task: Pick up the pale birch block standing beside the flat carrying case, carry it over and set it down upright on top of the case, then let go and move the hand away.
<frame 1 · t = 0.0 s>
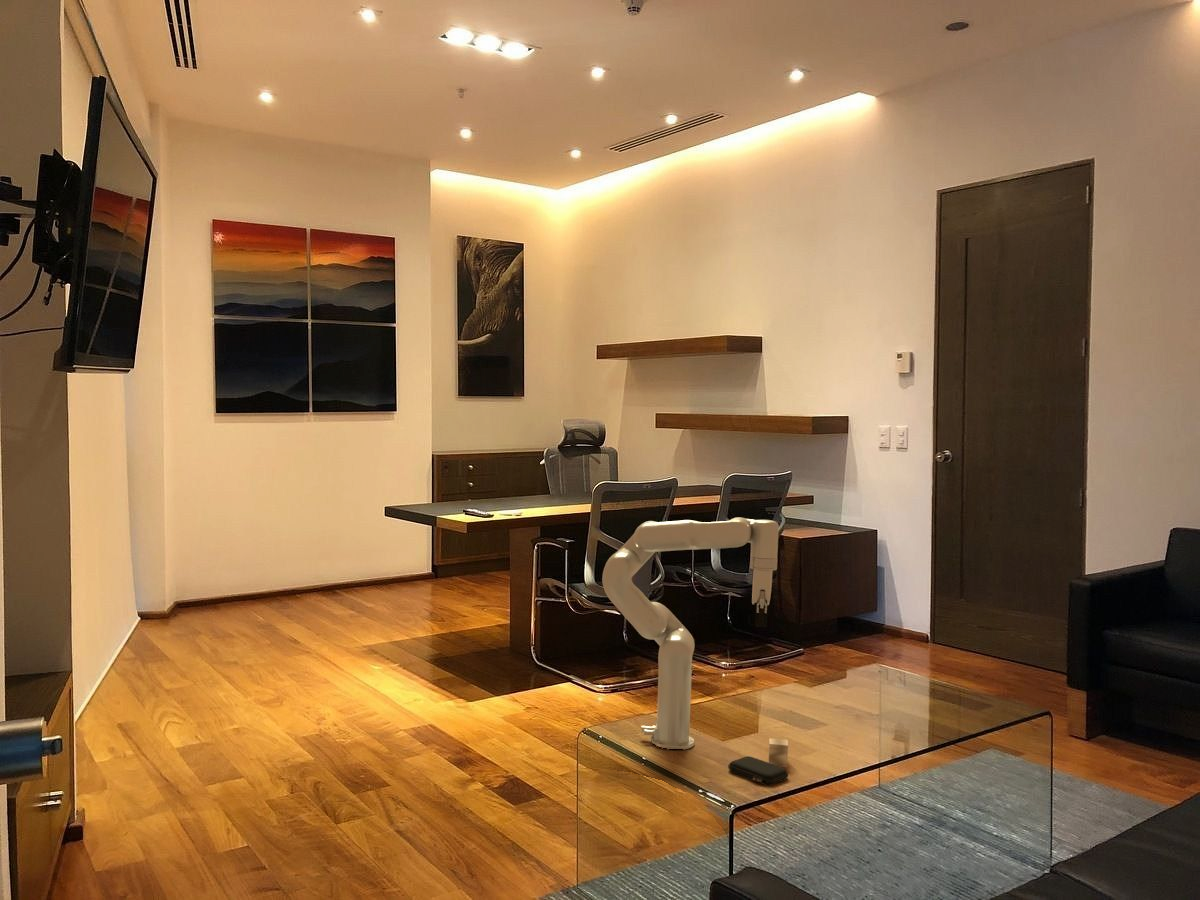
hand: (761, 623, 268), 37 cm above the table, tool pointing down, fingers open, 9 cm apart
carrying case or bag: (756, 777, 250), on the table
birch block: (777, 763, 260), on the table
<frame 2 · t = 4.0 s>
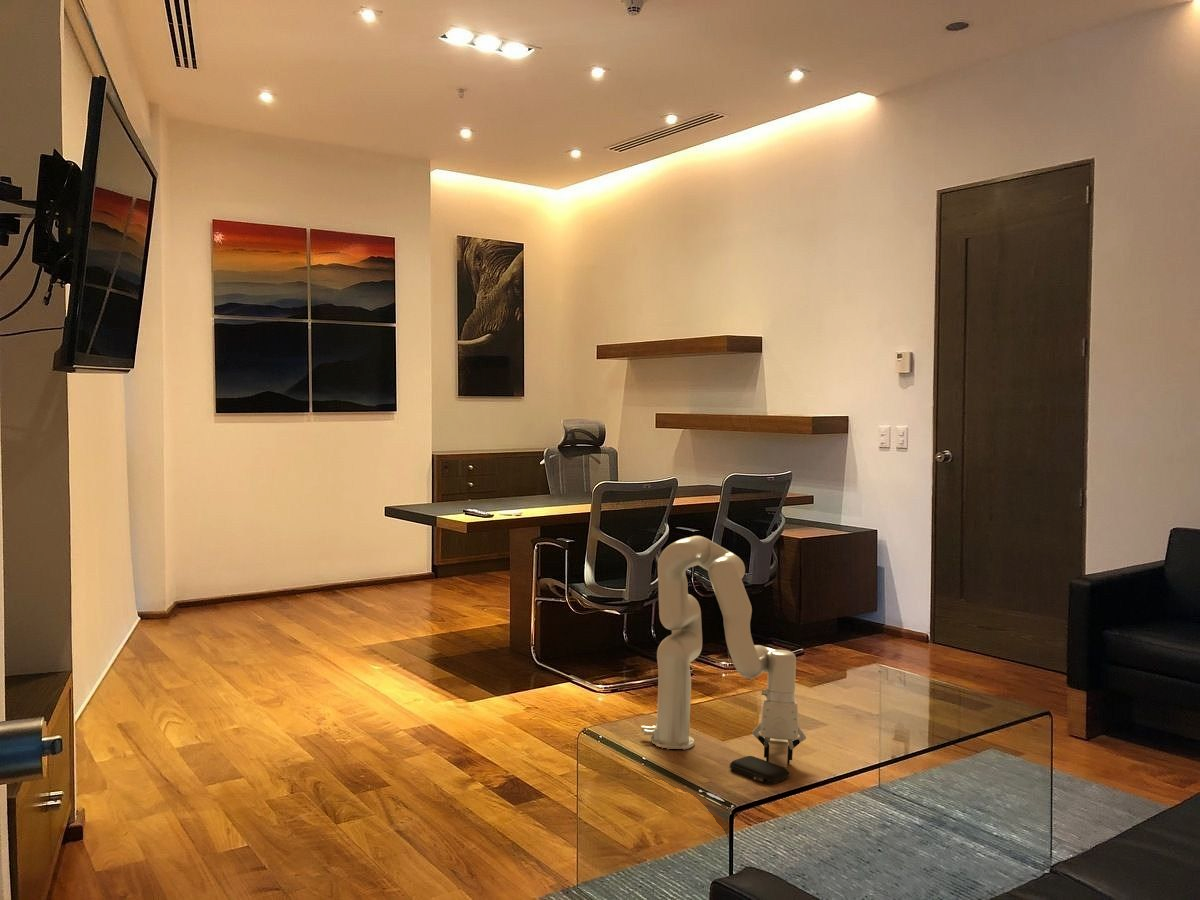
hand: (777, 760, 260), 1 cm above the table, tool pointing down, fingers closed on birch block, 5 cm apart
birch block: (777, 763, 260), on the table, touching gripper
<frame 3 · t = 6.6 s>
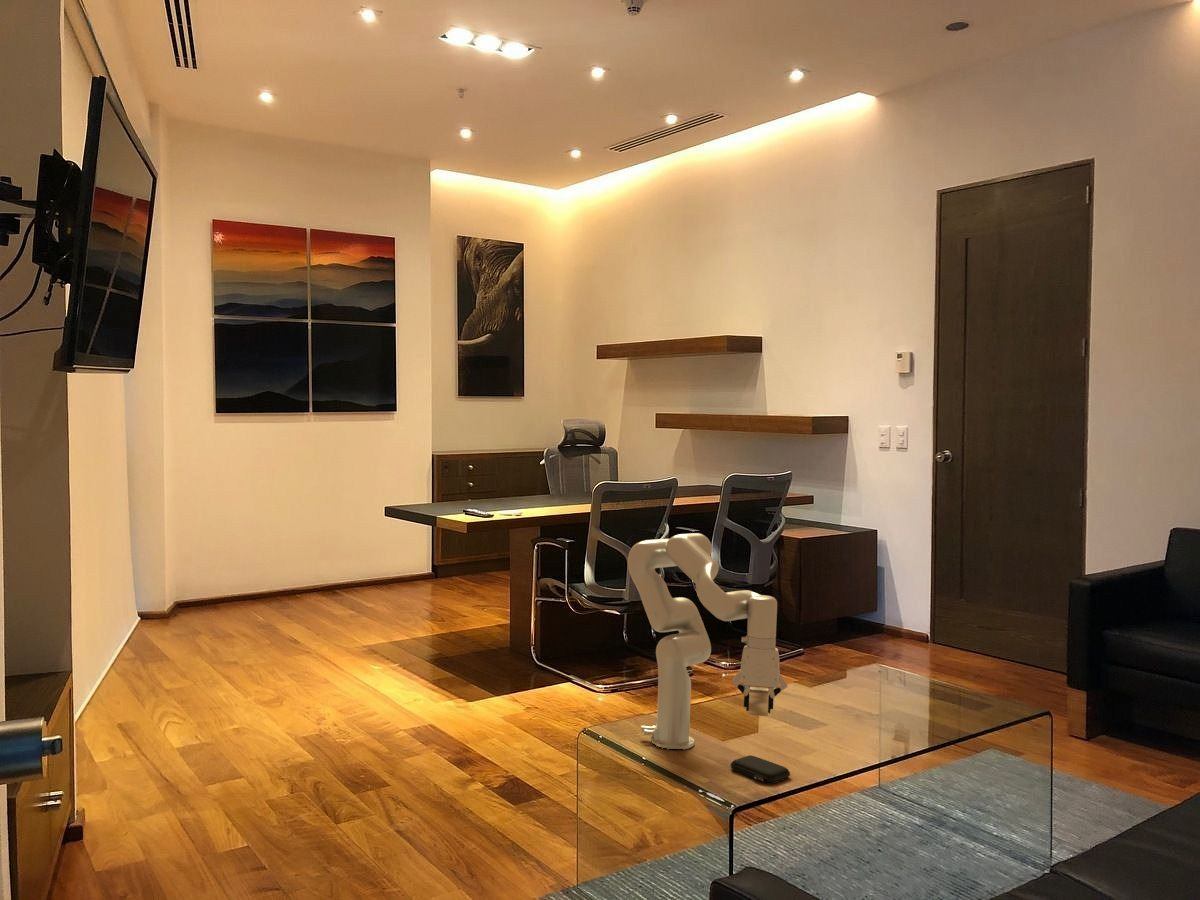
hand: (758, 710, 250), 17 cm above the table, tool pointing down, fingers closed on birch block, 5 cm apart
birch block: (758, 712, 250), point 17 cm above the table, touching gripper
when the fingers open (5 cm above the table, at t = 9.7 s): birch block drops 2 cm, resting on carrying case or bag.
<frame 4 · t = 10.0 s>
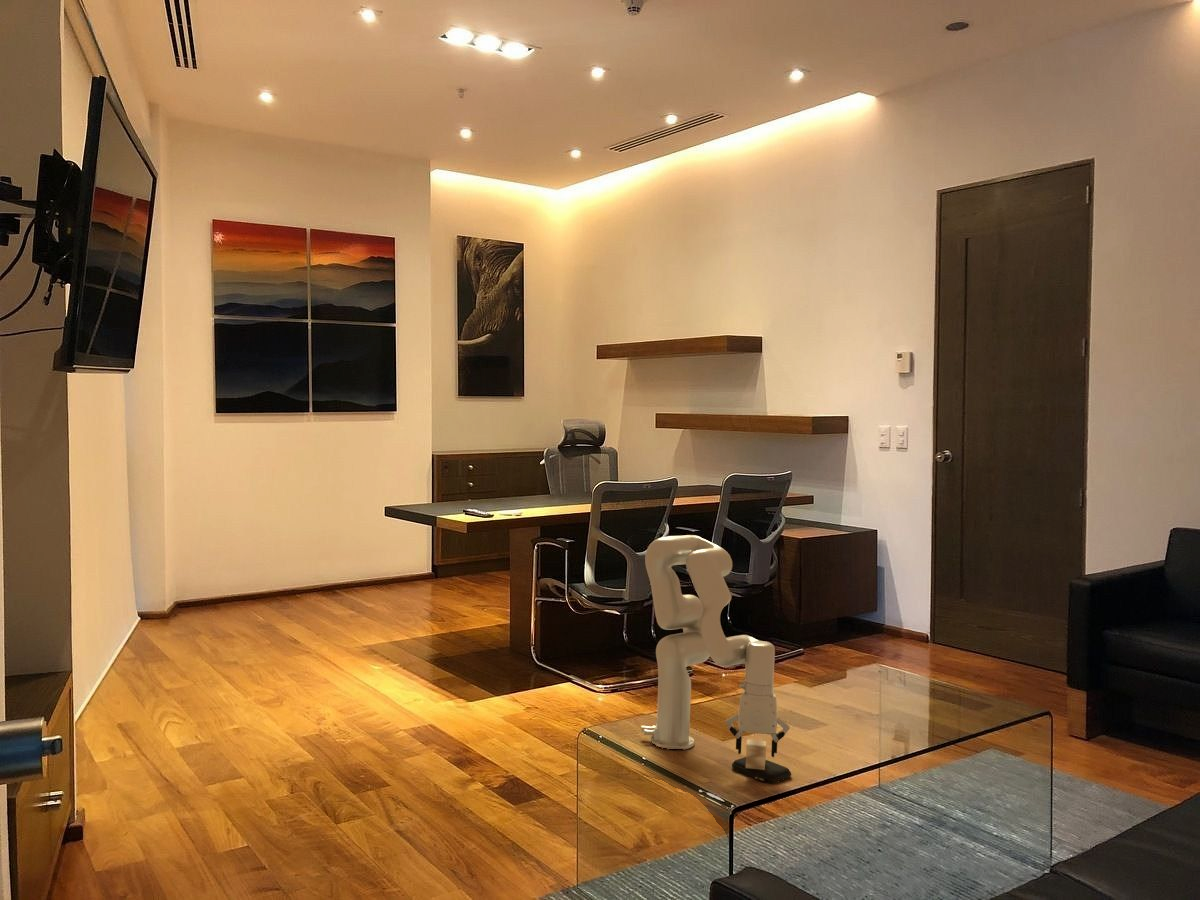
hand: (756, 753, 250), 6 cm above the table, tool pointing down, fingers open, 8 cm apart
carrying case or bag: (759, 776, 252), on the table, touching birch block
birch block: (755, 765, 250), point 2 cm above the table, touching carrying case or bag
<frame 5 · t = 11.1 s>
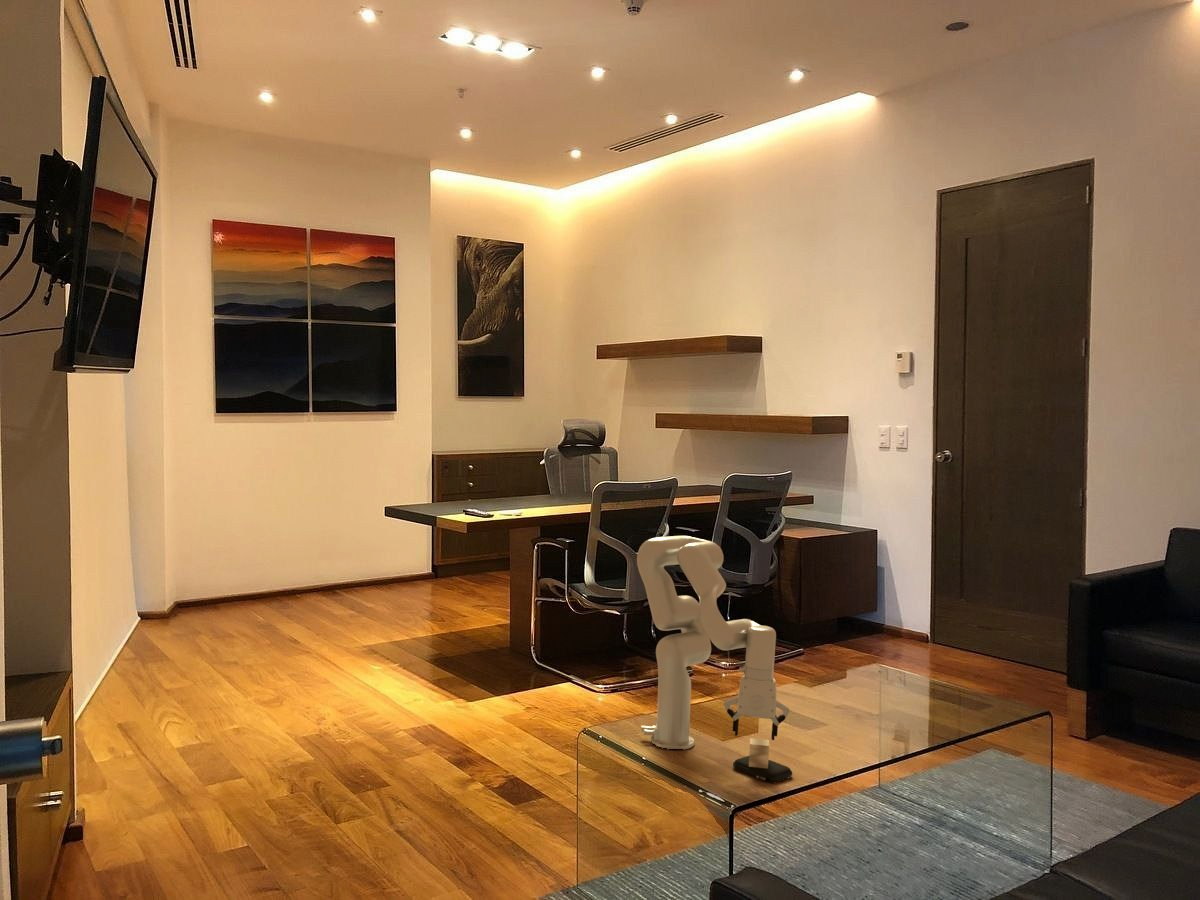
hand: (754, 736, 251), 10 cm above the table, tool pointing down, fingers open, 9 cm apart
birch block: (758, 764, 251), point 3 cm above the table, touching carrying case or bag
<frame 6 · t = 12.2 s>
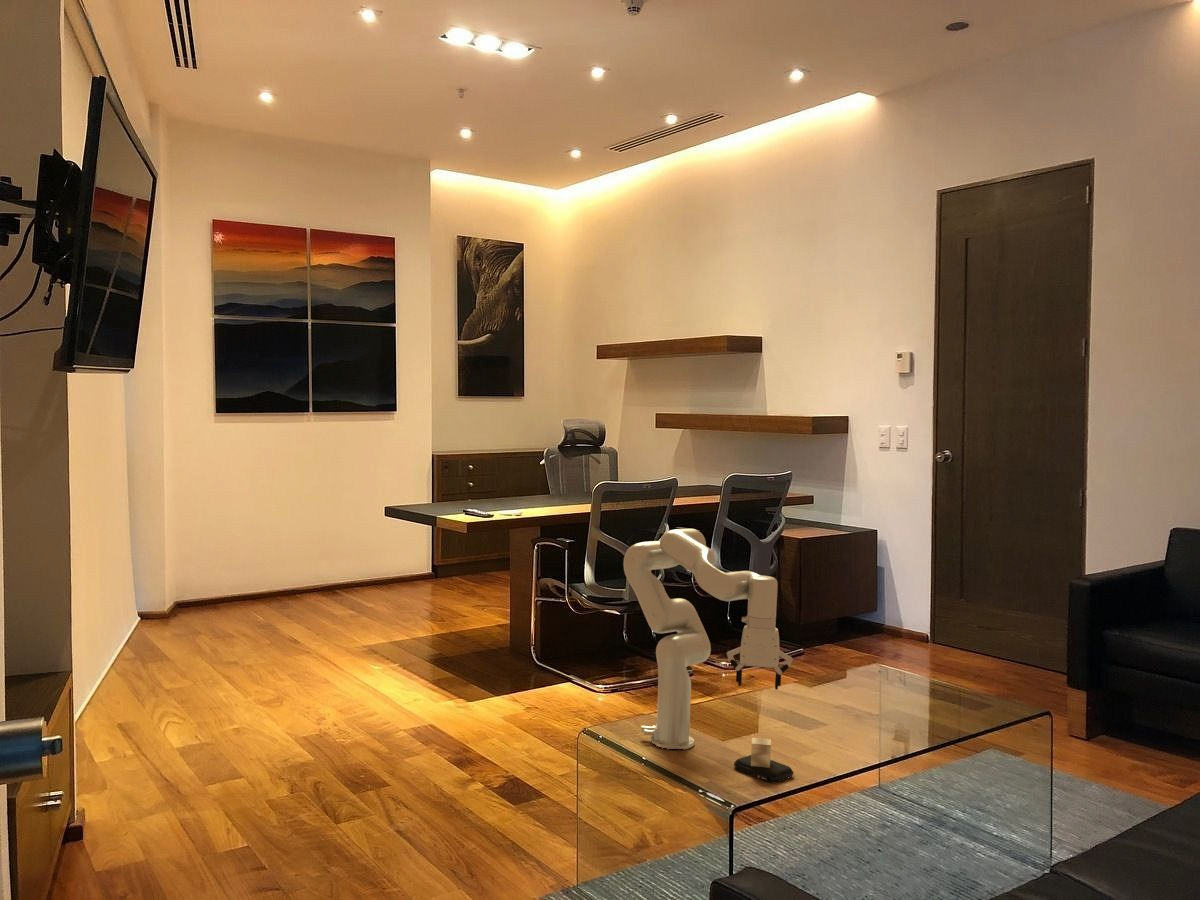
hand: (758, 686, 251), 23 cm above the table, tool pointing down, fingers open, 9 cm apart
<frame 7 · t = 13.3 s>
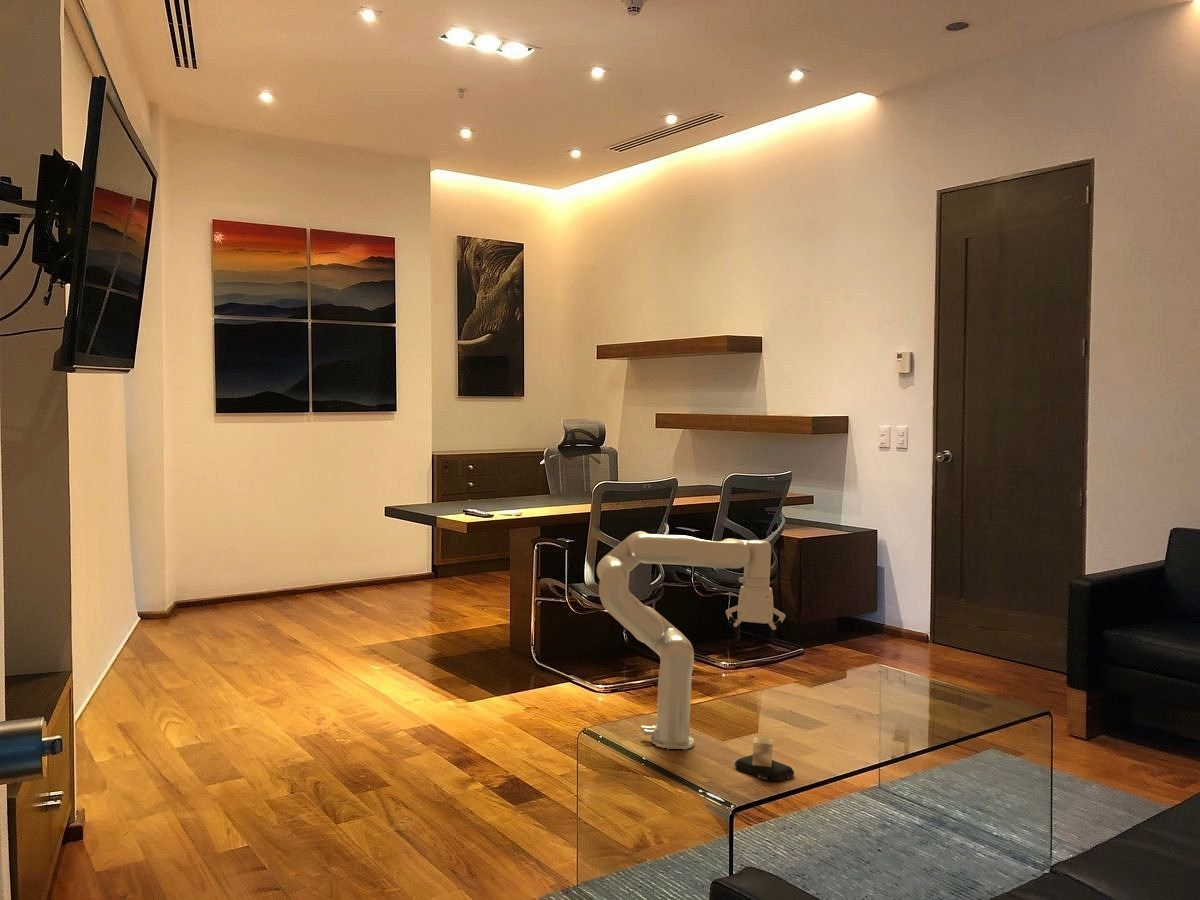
hand: (754, 641, 275), 30 cm above the table, tool pointing down, fingers open, 9 cm apart
carrying case or bag: (762, 775, 252), on the table
birch block: (762, 763, 252), point 3 cm above the table
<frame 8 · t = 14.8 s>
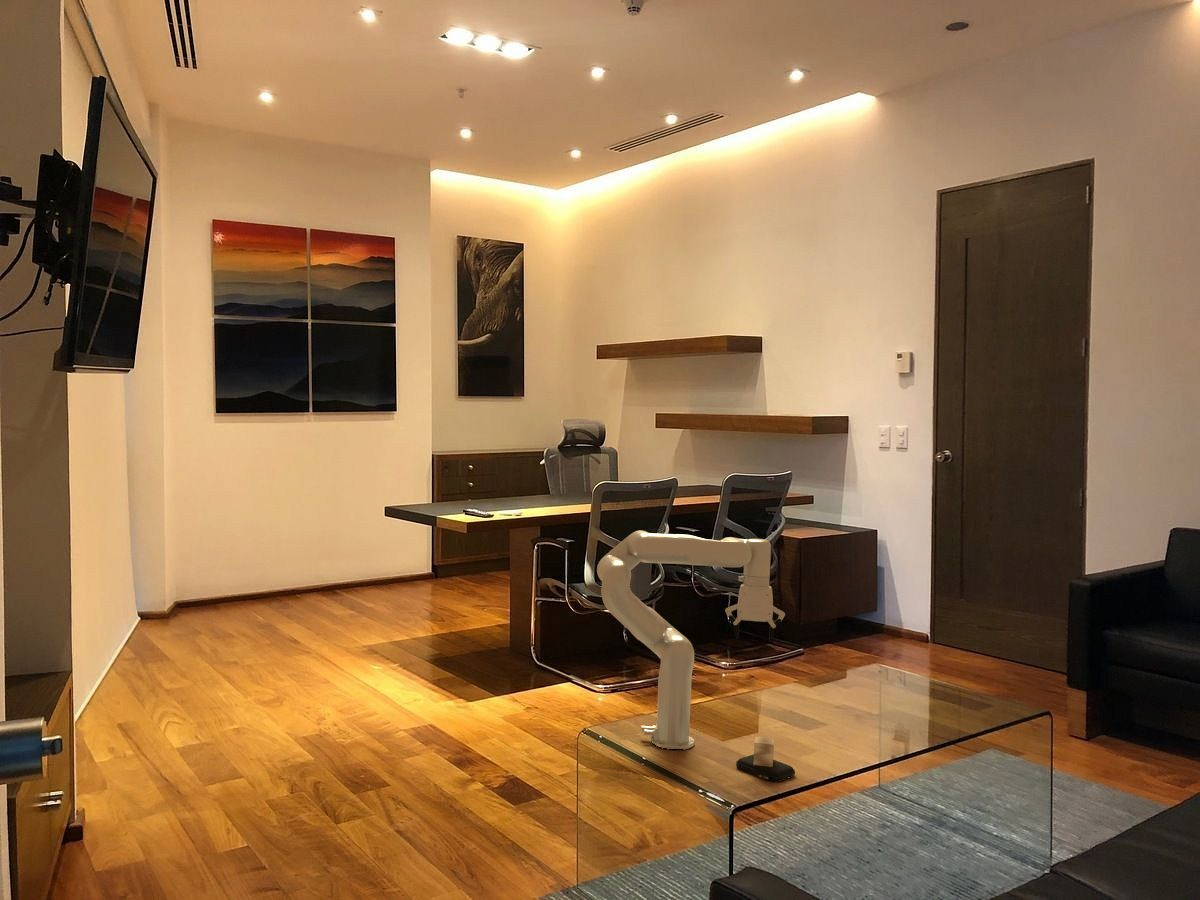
hand: (753, 639, 277), 30 cm above the table, tool pointing down, fingers open, 9 cm apart
carrying case or bag: (763, 774, 253), on the table, touching birch block
birch block: (763, 762, 253), point 2 cm above the table, touching carrying case or bag
at the end: birch block inside the target area on the carrying case or bag (0.2 cm from its centre), point 3.2 cm above the carrying case or bag's base; birch block tilted 0°; the gripper is holding nothing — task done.
